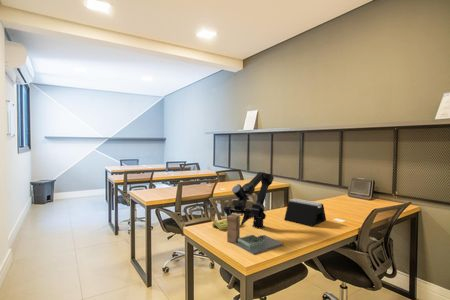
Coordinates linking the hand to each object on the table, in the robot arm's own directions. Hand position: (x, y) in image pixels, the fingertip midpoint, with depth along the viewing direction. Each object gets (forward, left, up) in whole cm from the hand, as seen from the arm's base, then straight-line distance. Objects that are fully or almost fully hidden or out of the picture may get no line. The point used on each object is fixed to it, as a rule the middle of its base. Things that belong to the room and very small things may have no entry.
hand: (234, 223), depth 151 cm
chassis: (-8, +14, -10) cm, 19 cm away
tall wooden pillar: (+1, +1, -10) cm, 10 cm away
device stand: (-69, -3, -10) cm, 69 cm away
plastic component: (-11, -24, -10) cm, 28 cm away
